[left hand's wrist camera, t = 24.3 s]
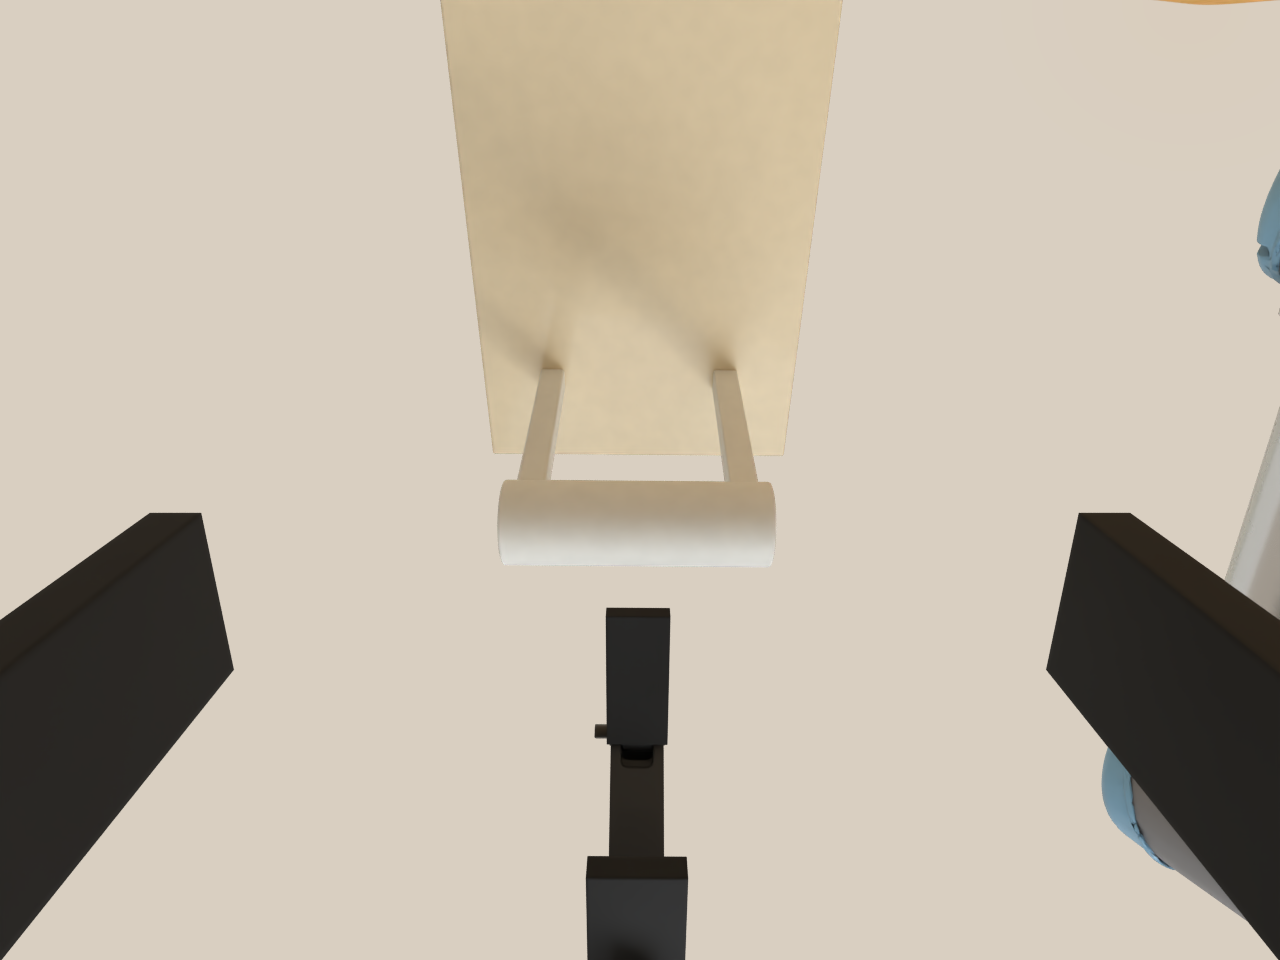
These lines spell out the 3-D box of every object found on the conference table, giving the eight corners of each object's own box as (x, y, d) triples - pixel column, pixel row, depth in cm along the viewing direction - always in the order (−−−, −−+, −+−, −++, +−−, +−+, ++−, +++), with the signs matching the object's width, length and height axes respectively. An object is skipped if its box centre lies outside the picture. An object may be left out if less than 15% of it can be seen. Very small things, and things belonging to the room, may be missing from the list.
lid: (779, 441, 27) (828, 640, 20) (497, 439, 27) (443, 636, 20) (843, -59, 19) (961, -29, 12) (440, -63, 19) (318, -34, 12)
